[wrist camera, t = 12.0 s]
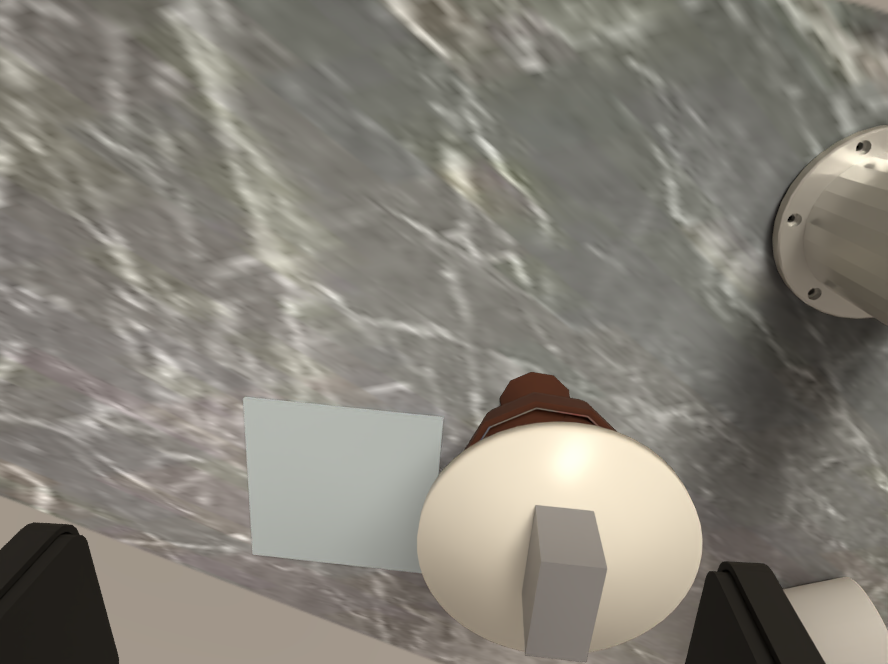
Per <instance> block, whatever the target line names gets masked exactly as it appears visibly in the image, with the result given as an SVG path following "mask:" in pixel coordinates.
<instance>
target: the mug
mask: <svg viewBox="0 0 888 664" xmlns="http://www.w3.org/2000/svg"><path fill="white" fill-rule="evenodd" d="M783 591H784V592H785V594H786V596H787V598H788V599H789V601H790V603H791V605H792V606H793V608H794V610H795V611H796V613H797V615H798V617H799V618H800V620H801V622H802V623H803V625H804V627H805V629H806V630H807V632H808V634H809V636H810V637H811V639H812V641H813V642H814V644H815V646H816V648H817V649H818V651H819V653H820V655H821V656H822V658H823V660H824V661H825V663H826V664H888V630H887V628H886V626H885V624H884V622H883V620H882V618H881V616H880V615H879V613H878V611H877V609H876V608H875V606H874V604H873V603H872V601H871V600H870V598H869V597H868V595H867V594H866V593H865V591H864V590H863V589H862V588H861V587H860V585H859V584H858V583H857V582H855V581H854V580H853V579H851V578H849V577H841V578H836V579H831V580H827V581H822V582H817V583H812V584H807V585H802V586H797V587H792V588H787V589H783Z"/></svg>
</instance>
